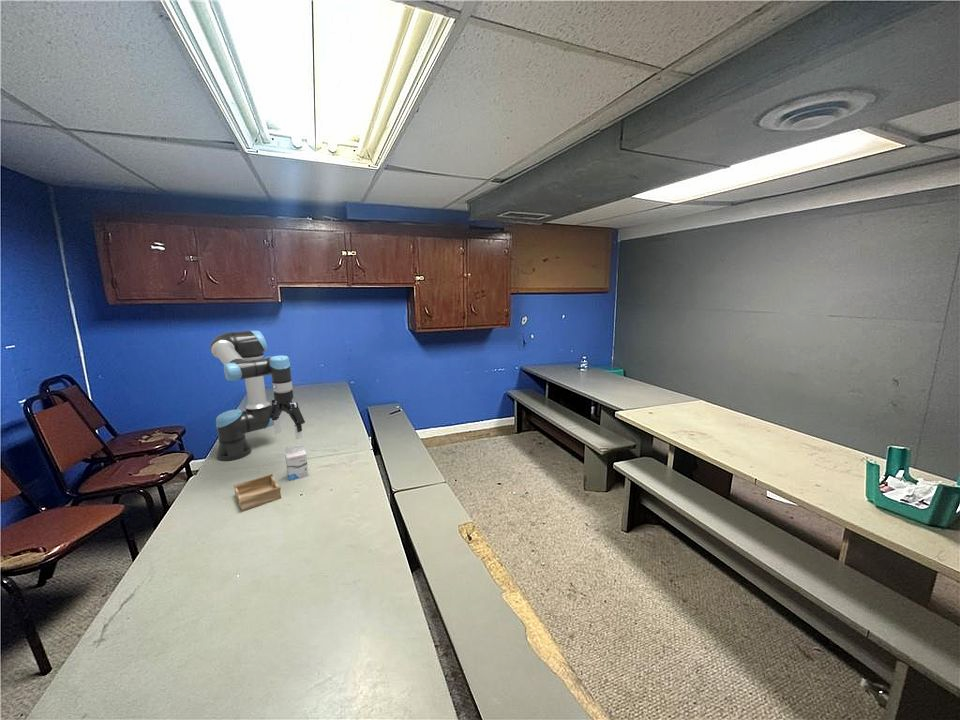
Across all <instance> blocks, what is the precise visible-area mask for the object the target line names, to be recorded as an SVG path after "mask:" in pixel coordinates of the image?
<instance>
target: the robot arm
mask: <svg viewBox="0 0 960 720" xmlns="http://www.w3.org/2000/svg"><path fill="white" fill-rule="evenodd" d="M209 350H210V353H211V354H212V356H214V357H215V358H216V359H219V361H220V362H221V363H222V364H223V372H224V377H225V379H226V380H227V381H229V382H230V381H231V382H232V381H240V380H241V381H242V380H244V383H245V389H246V390H245V391H246V396H247V405H246V406H245V410H244V411H242V410H241V409H230V410H227V411H224V412H222V413H220V414H219V415H217V417H216V418H215V427H216V431H217V438H218V447H217V452H216V457H217V460H219V461H223V462H229V461H235V460H240V459H242V458H244V457H246V456H249V454H250V453H252V447H251V445H250V443H249V441H248V440H247V438H246V433H247V434H248V433H251V432H255V431H259V430H263V429H264V430H265V429H268V428H270V427H272V426H273V428H274V435H277V434H280V433H282V427H281V419H280V416H281V414H282V413H283V412H285V413H286V414H287V415H289V417H290V419H291V420H292V421H293V423H294V424H295V425H294V435H295V440H299V439H301V438H302V439H303V426H302V425H303V424H306V421H305V419H304V416H303V414H302V412H301V409H300V408H299V403H298V402H297V401H295V402H293V399H294V391H293V387H294V386H293V381H292V373H291V371H292V370H291V362H290V358H289V356H287V355H274V356H266V357H265V356H264V355H265V354H264V353H265V352H267V350H268V345H267V342H266V339H265V337H264V335H263V333H262V332H261V331H260V330H241V331H234V332H226V333H225V332H224V333H222V334H220V335H217V336H216V337H214V338H213V340H212V341H211V343H210V344H209ZM263 357H264V358H263ZM270 375H271V382H272V389H273V390H272V391H273V399H272V400H271V403H270V402H269V401H268V400H267V392H266V386H265V376H270Z"/></svg>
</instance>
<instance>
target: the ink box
mask: <svg viewBox="0 0 960 720" xmlns="http://www.w3.org/2000/svg"><path fill="white" fill-rule="evenodd" d="M284 450H285V454H284V455H285V463H286V474H287V478H288V481H293V480H297V479H301V478H304V477H308V476H309V468H308V459H307V452H306V450H305V444H297V445H291V446H287V447H285V448H284Z"/></svg>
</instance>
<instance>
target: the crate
mask: <svg viewBox="0 0 960 720" xmlns="http://www.w3.org/2000/svg"><path fill="white" fill-rule="evenodd" d="M233 489H234V494H235V497H236V500H237V502H238V505H239V508H240V512H241V513H242V512H247V511H248V510H251V509H254V508H257V507H260V506H262V505H267V504H268V503H271V502H274V501H277V500H280V499H282V493H281V486H280V485H279V484H278V483H277V481H276V479H275V478H274V476H273V473H270V474H267V475H264V476H261V477H257V478H254V479H251V480H248V481H243V482H241V483H237V484H235V485H233Z"/></svg>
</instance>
